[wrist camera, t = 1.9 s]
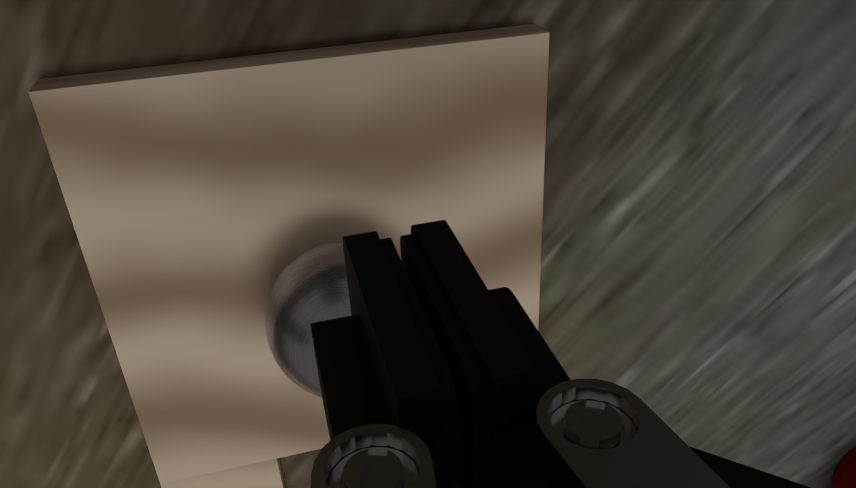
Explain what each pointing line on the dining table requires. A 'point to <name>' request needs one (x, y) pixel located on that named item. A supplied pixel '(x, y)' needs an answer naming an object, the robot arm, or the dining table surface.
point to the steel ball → (306, 309)
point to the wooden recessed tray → (283, 211)
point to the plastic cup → (846, 472)
